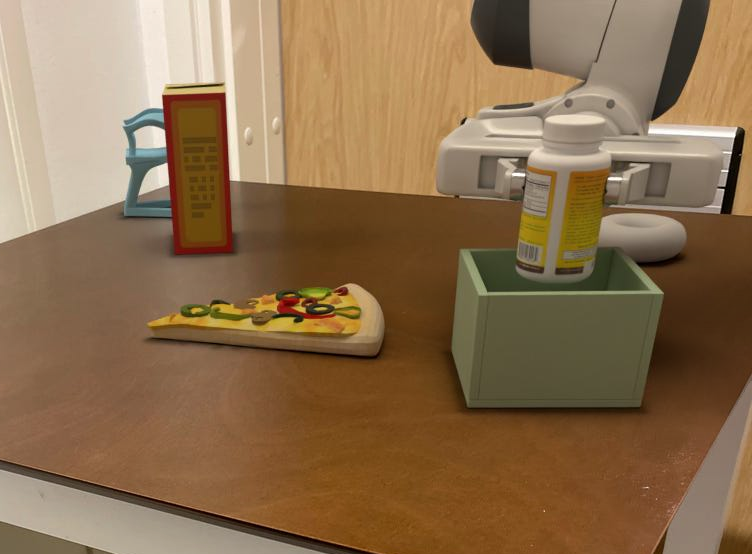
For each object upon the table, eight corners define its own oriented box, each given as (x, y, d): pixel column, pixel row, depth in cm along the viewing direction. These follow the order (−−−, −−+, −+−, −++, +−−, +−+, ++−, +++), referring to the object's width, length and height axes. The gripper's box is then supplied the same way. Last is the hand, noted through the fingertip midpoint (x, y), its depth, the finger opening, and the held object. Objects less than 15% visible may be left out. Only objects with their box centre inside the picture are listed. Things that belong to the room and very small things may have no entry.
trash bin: (602, 349, 80) (620, 246, 75) (640, 407, 70) (664, 293, 65) (451, 350, 81) (459, 248, 76) (467, 407, 71) (478, 295, 66)
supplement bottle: (599, 269, 72) (626, 114, 66) (582, 290, 68) (609, 127, 62) (524, 261, 74) (544, 110, 68) (504, 281, 70) (523, 122, 64)
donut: (611, 239, 109) (567, 255, 103) (617, 206, 107) (573, 221, 101) (698, 253, 104) (657, 271, 98) (706, 218, 102) (664, 235, 96)
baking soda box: (233, 252, 108) (225, 88, 99) (174, 254, 108) (161, 90, 99) (231, 231, 116) (224, 78, 107) (177, 234, 116) (165, 80, 106)
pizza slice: (395, 358, 79) (397, 321, 78) (143, 368, 79) (139, 331, 77) (370, 301, 92) (371, 269, 90) (153, 310, 92) (150, 277, 90)
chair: (124, 207, 128) (113, 105, 121) (187, 204, 129) (180, 102, 122) (123, 220, 122) (112, 113, 115) (189, 217, 123) (182, 110, 116)
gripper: (713, 203, 76) (713, 247, 66) (454, 190, 82) (417, 229, 72) (734, 112, 72) (737, 144, 62) (461, 106, 78) (423, 134, 68)
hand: (563, 189), depth 67 cm, fingers closed on supplement bottle, 5 cm apart
